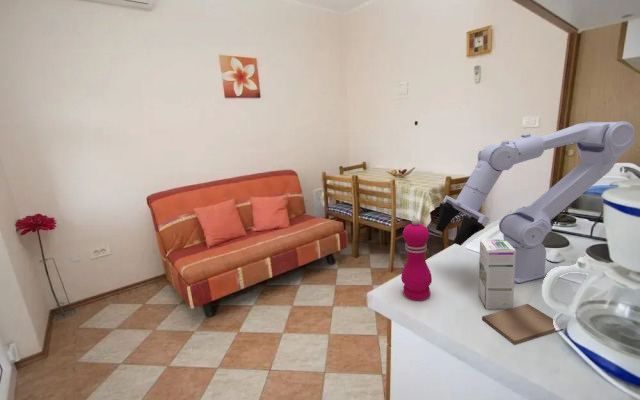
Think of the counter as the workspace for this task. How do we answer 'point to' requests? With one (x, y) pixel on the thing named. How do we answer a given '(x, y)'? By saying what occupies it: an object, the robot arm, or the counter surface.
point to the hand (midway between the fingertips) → (447, 237)
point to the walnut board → (520, 323)
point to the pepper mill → (416, 262)
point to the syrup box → (496, 274)
